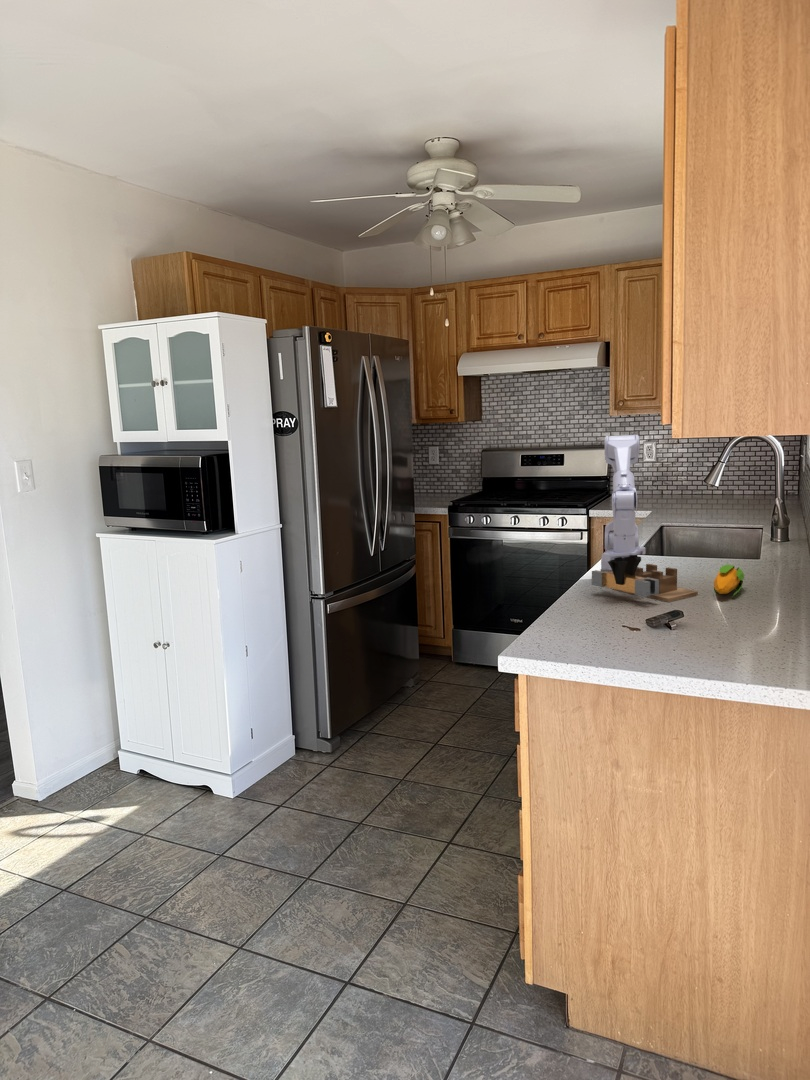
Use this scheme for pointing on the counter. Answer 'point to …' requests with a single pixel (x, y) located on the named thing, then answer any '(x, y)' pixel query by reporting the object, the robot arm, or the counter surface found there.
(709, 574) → the counter surface
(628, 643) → the counter surface
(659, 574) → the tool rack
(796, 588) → the counter surface
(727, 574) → the corn
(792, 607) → the counter surface
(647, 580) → the spanner
